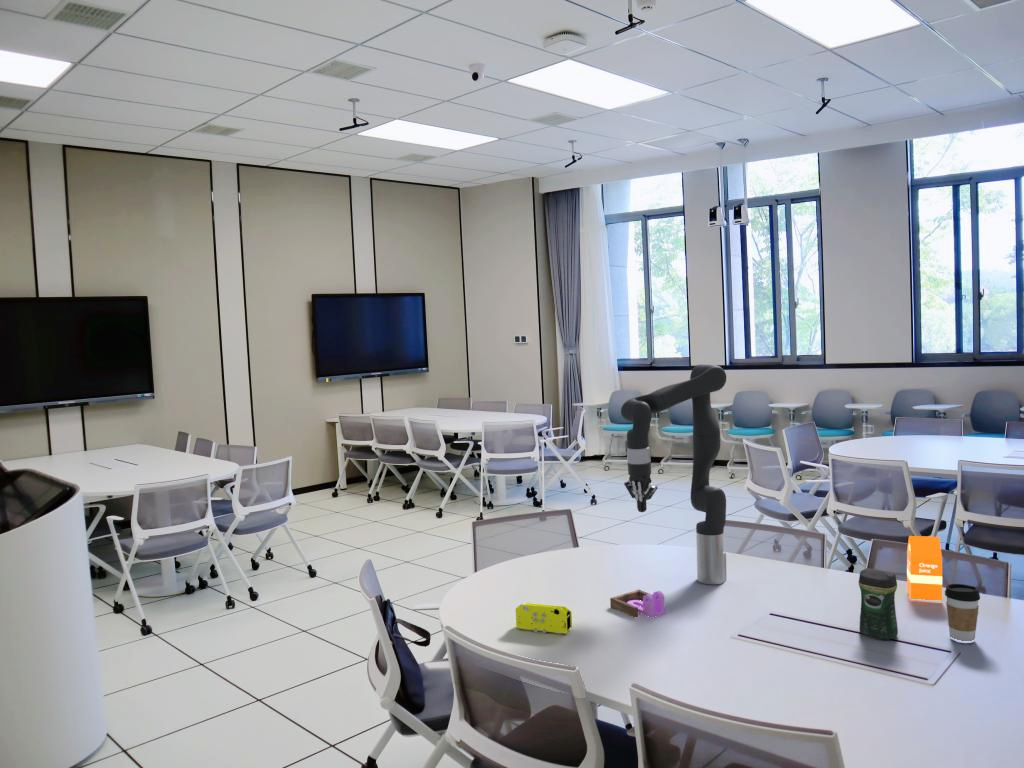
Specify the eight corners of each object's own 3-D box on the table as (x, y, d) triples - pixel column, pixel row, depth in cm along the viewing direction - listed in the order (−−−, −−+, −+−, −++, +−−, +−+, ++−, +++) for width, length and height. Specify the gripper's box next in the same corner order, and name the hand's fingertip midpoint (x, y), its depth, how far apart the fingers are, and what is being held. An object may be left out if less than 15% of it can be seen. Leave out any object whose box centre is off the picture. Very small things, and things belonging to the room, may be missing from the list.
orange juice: (942, 603, 239) (942, 540, 238) (910, 601, 242) (910, 538, 241) (937, 594, 247) (937, 533, 245) (906, 592, 250) (906, 532, 248)
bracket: (664, 614, 240) (664, 592, 240) (651, 618, 237) (651, 596, 237) (636, 602, 251) (635, 582, 251) (623, 606, 248) (622, 585, 248)
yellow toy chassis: (515, 631, 232) (514, 604, 231) (522, 624, 237) (521, 597, 237) (566, 637, 226) (565, 609, 226) (572, 629, 232) (571, 602, 231)
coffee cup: (967, 648, 207) (968, 594, 206) (938, 637, 215) (938, 585, 213) (986, 641, 211) (987, 588, 210) (956, 631, 218) (956, 579, 217)
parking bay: (639, 598, 254) (638, 589, 254) (664, 608, 245) (664, 599, 245) (610, 607, 248) (610, 598, 247) (635, 617, 238) (634, 608, 238)
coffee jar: (901, 634, 218) (901, 570, 216) (891, 643, 212) (891, 577, 211) (865, 626, 225) (865, 563, 223) (855, 634, 219) (854, 570, 218)
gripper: (662, 460, 251) (665, 512, 253) (631, 455, 261) (634, 505, 263) (646, 465, 246) (649, 517, 248) (616, 460, 256) (619, 510, 259)
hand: (642, 511), depth 256 cm, fingers closed
